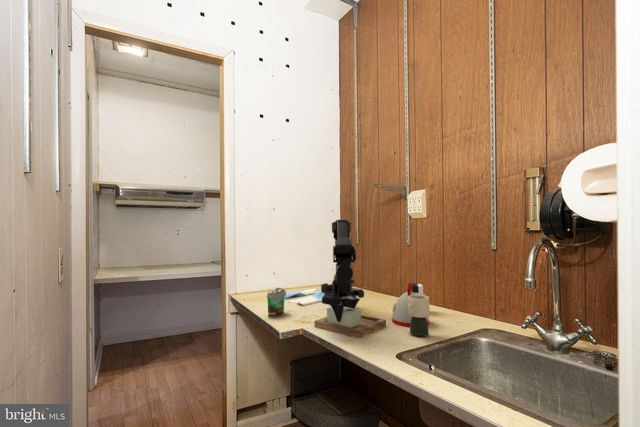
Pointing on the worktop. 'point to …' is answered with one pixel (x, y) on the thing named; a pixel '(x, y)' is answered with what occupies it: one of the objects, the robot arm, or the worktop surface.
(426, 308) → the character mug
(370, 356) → the worktop surface
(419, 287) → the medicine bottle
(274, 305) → the food container
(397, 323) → the kitchen timer
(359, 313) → the pale green spotted block
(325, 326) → the brown recessed board
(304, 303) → the rubber gloves
